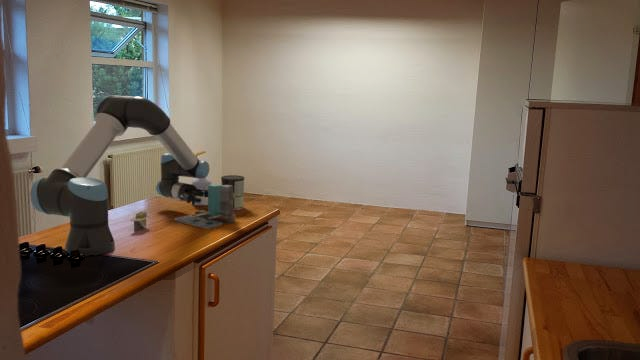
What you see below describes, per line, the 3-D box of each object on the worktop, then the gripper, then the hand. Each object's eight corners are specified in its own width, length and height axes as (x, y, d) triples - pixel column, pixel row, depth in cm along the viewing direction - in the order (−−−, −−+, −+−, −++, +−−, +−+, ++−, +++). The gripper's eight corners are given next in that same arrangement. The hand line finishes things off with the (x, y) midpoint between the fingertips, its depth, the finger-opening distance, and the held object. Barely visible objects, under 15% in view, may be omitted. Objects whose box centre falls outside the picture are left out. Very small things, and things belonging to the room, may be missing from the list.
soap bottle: (213, 205, 260) (213, 152, 256) (193, 206, 257) (192, 152, 253) (209, 201, 268) (209, 149, 264) (190, 202, 265) (189, 150, 261)
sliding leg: (200, 219, 224) (200, 189, 222) (192, 217, 227) (191, 187, 225) (223, 213, 234) (223, 185, 232) (214, 212, 237) (214, 183, 235)
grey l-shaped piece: (213, 227, 220) (213, 189, 218) (180, 219, 231) (180, 183, 229) (235, 222, 230) (235, 185, 228) (203, 214, 241) (203, 180, 239)
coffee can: (222, 210, 250) (222, 179, 248) (219, 205, 260) (219, 175, 257) (246, 209, 253) (246, 178, 251) (242, 205, 263) (242, 175, 260)
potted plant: (165, 225, 224) (165, 208, 223) (145, 236, 206) (145, 219, 205) (137, 223, 226) (136, 207, 224) (114, 234, 208) (114, 217, 207)
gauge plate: (207, 229, 218) (207, 225, 217) (174, 221, 229) (174, 217, 228) (222, 225, 224) (222, 222, 224) (189, 217, 235) (189, 214, 235)
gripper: (206, 196, 253) (241, 203, 241) (161, 205, 233) (196, 213, 221) (206, 180, 252) (241, 186, 240) (161, 187, 232) (196, 194, 220)
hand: (220, 199), depth 230 cm, fingers open, 13 cm apart
